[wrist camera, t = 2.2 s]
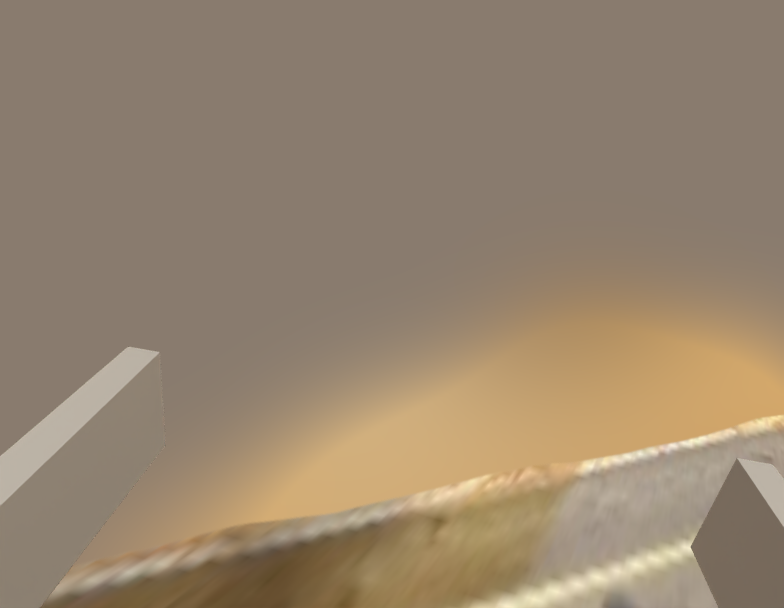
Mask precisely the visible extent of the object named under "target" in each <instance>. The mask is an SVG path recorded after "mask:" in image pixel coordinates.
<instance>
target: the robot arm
mask: <svg viewBox="0 0 784 608" xmlns="http://www.w3.org/2000/svg"><path fill="white" fill-rule="evenodd" d="M165 445H166V444H165V428H164V413H163V396H162V380H161V364H160V352H155V351H150V350H144V349H139V348H133V347H127V348H126V349H125V350H124V351H123V352H121V353H120V354H119V355H118V356H117V357H115V358H114V359H113V360H112V361H111V362H110V363H108V364H107V365H106V366H105V367H104V368H103V369H101V370H100V371H99V372H98V373H97V374H96V375H94V376H93V377H92V378H91V379H90V380H89V381H87V382H86V383H85V384H84V385H83V386H81V387H80V388H79V389H78V390H77V391H76V392H75V393H73V394H72V395H71V396H70V397H69V398H67V399H66V400H65V401H64V402H63V403H62V404H61V405H59V406H58V407H57V408H56V409H55V410H54V411H52V412H51V413H50V414H49V415H48V416H46V417H45V418H44V419H43V420H42V421H41V422H39V423H38V424H37V425H36V426H35V427H34V428H32V429H31V430H30V431H29V432H28V433H27V434H25V435H24V436H23V437H22V438H21V439H19V440H18V441H17V442H16V443H15V444H14V445H12V446H11V447H10V448H9V449H8V450H7V451H5V453H3V454H2V455H1V456H0V608H40V607H41V605H42V604H43V603H44V602H45V600H46V599H47V598H48V596H49V595H50V594H51V593H52V591H53V590H54V589H55V587H56V586H57V585H58V584H59V582H60V581H61V580H62V578H63V577H64V576H65V574H66V573H67V572H68V571H69V569H70V568H71V567H72V565H73V564H74V563H75V562H76V560H77V559H78V557H79V556H80V555H81V554H82V552H83V551H84V550H85V548H86V547H87V546H88V545H89V544H90V542H91V541H92V540H93V538H94V537H95V536H96V534H97V533H98V532H99V531H100V529H101V528H102V527H103V525H104V524H105V523H106V522H107V520H108V519H109V518H110V516H111V515H112V514H113V512H114V511H115V510H116V509H117V507H118V506H119V505H120V504H121V502H122V501H123V500H124V498H125V497H126V496H127V494H128V493H129V492H130V490H131V489H132V488H133V487H134V485H135V484H136V483H137V482H138V480H139V479H140V478H141V476H142V475H143V474H144V473H145V471H146V470H147V469H148V467H149V466H150V465H151V464H152V462H153V461H154V460H155V458H156V457H157V456H158V455H159V453H160V452H161V451H162V449H163V448H164V446H165ZM691 549H692V551H693V553H694V555H695V557H696V560H697V562H698V564H699V566H700V568H701V570H702V573H703V575H704V577H705V579H706V581H707V584H708V586H709V588H710V590H711V592H712V594H713V597H714V599H715V601H716V603H717V605H718V608H784V479H783V477H782V476H781V475H780V473H779V472H778V471H777V469H776V468H775V467H774V465H772V464H767V463H761V462H756V461H750V460H745V459H740V458H737V459H736V461H735V463H734V465H733V467H732V469H731V471H730V472H729V474H728V476H727V478H726V480H725V482H724V484H723V486H722V488H721V490H720V492H719V494H718V495H717V497H716V499H715V501H714V503H713V505H712V507H711V509H710V511H709V513H708V515H707V517H706V518H705V520H704V522H703V524H702V526H701V528H700V530H699V532H698V534H697V536H696V538H695V540H694V542H693V543H692V545H691Z"/></svg>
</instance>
